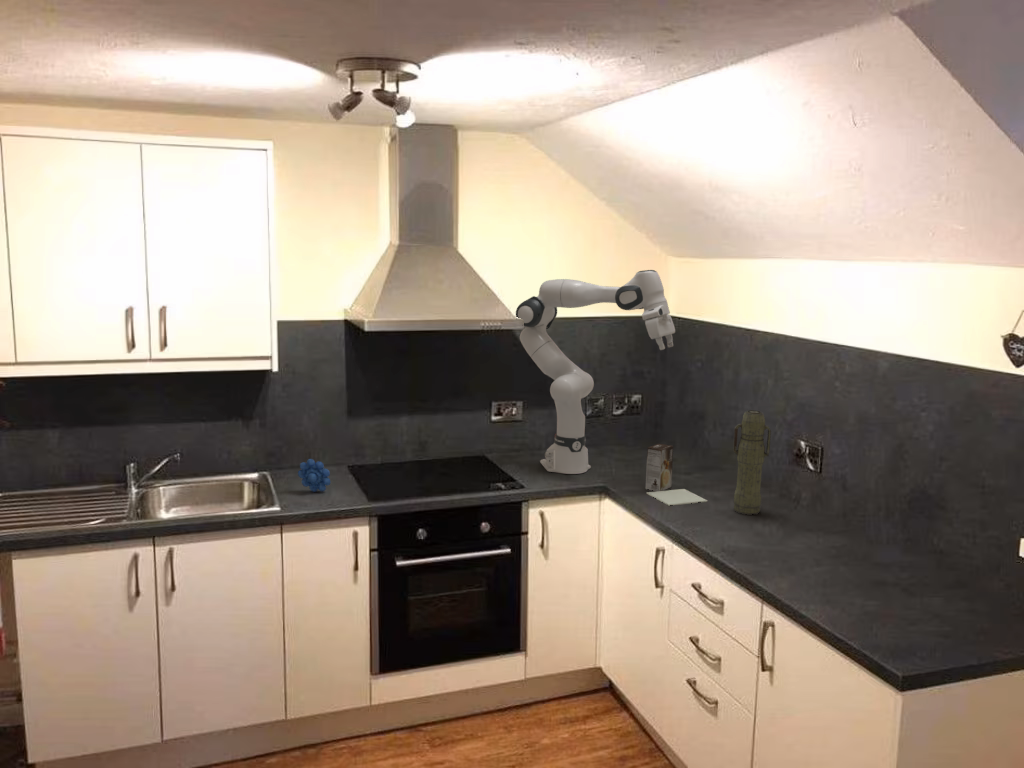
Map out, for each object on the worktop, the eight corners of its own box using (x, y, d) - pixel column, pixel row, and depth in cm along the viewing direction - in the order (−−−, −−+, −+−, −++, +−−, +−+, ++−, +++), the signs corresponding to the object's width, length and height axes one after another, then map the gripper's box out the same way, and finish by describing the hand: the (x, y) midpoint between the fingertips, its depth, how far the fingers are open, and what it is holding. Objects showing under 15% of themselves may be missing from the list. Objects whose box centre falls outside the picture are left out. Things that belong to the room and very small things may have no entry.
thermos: (727, 506, 303) (734, 408, 297) (762, 508, 302) (769, 409, 296) (730, 513, 294) (737, 413, 289) (765, 516, 293) (774, 415, 287)
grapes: (294, 494, 302) (294, 461, 300) (299, 489, 309) (299, 456, 307) (327, 495, 302) (327, 462, 300) (332, 490, 309) (332, 457, 307)
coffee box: (656, 484, 328) (658, 442, 325) (671, 487, 324) (674, 445, 322) (644, 489, 321) (647, 447, 318) (660, 492, 317) (662, 450, 314)
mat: (646, 493, 315) (646, 492, 315) (683, 490, 321) (684, 488, 321) (668, 505, 301) (668, 504, 301) (707, 501, 307) (707, 500, 307)
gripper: (658, 312, 329) (667, 347, 330) (640, 316, 312) (649, 353, 312) (673, 308, 326) (683, 343, 327) (656, 311, 309) (666, 348, 309)
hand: (666, 348), depth 319 cm, fingers open, 8 cm apart
